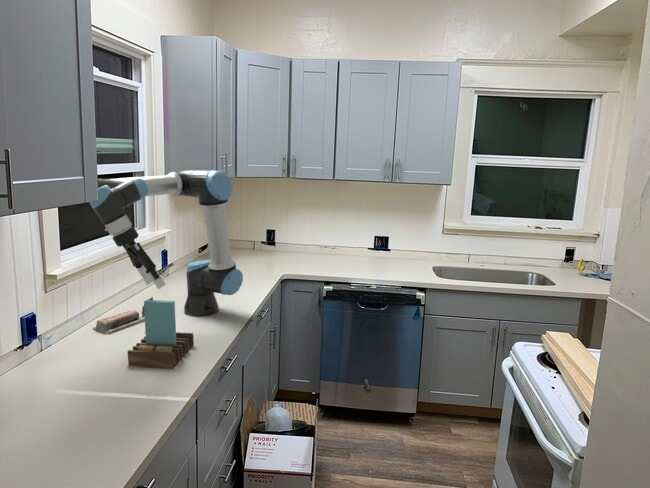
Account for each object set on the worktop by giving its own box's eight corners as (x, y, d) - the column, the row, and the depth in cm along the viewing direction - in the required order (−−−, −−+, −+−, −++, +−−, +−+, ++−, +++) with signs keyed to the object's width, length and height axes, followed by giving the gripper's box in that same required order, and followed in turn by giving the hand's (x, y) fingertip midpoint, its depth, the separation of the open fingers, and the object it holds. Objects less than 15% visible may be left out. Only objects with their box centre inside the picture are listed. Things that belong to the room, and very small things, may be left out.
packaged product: (107, 324, 186) (91, 319, 191) (108, 335, 187) (92, 330, 192) (145, 311, 202) (129, 307, 206) (145, 322, 202) (130, 317, 207)
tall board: (149, 353, 168) (146, 299, 164) (176, 355, 167) (174, 301, 163) (146, 356, 166) (143, 301, 162) (174, 357, 165) (172, 302, 161)
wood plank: (145, 317, 207) (145, 306, 206) (140, 317, 207) (140, 306, 206) (157, 306, 222) (156, 296, 221) (152, 306, 222) (152, 295, 221)
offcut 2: (158, 362, 161) (157, 345, 160) (172, 363, 161) (172, 346, 160) (155, 364, 159) (155, 348, 158) (170, 365, 159) (169, 348, 158)
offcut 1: (141, 361, 162) (140, 344, 161) (155, 362, 162) (154, 345, 160) (138, 363, 160) (137, 347, 159) (153, 364, 160) (152, 348, 158)
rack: (151, 346, 177) (151, 331, 176) (193, 348, 176) (193, 333, 174) (126, 369, 158) (125, 352, 157) (173, 372, 157) (172, 355, 156)
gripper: (104, 236, 164) (137, 287, 171) (120, 237, 143) (156, 295, 150) (124, 225, 168) (155, 275, 174) (142, 225, 147) (177, 282, 154)
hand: (156, 284), depth 162 cm, fingers open, 13 cm apart
